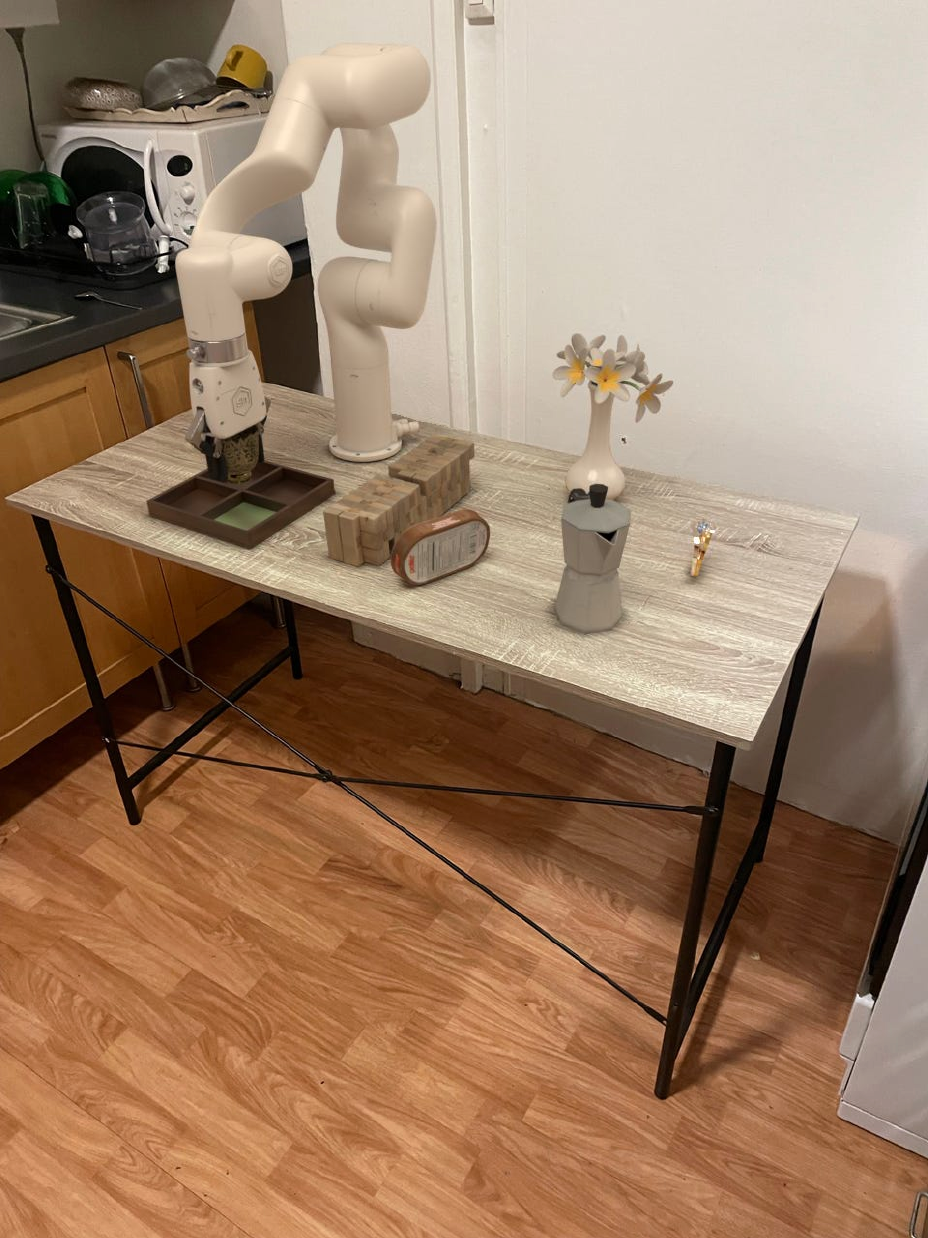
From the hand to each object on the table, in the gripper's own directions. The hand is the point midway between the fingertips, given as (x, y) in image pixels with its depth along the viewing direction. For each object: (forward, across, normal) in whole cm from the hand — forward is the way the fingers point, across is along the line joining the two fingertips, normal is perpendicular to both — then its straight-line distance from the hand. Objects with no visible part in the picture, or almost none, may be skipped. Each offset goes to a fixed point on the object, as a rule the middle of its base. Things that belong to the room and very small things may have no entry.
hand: (237, 468), depth 132 cm
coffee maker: (+9, +5, -53) cm, 54 cm away
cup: (+2, 0, 0) cm, 2 cm away
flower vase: (+9, +34, -42) cm, 55 cm away
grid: (+9, +5, +5) cm, 12 cm away
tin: (+10, +3, -32) cm, 34 cm away
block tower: (+9, +13, -20) cm, 26 cm away
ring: (+9, +20, -62) cm, 66 cm away
